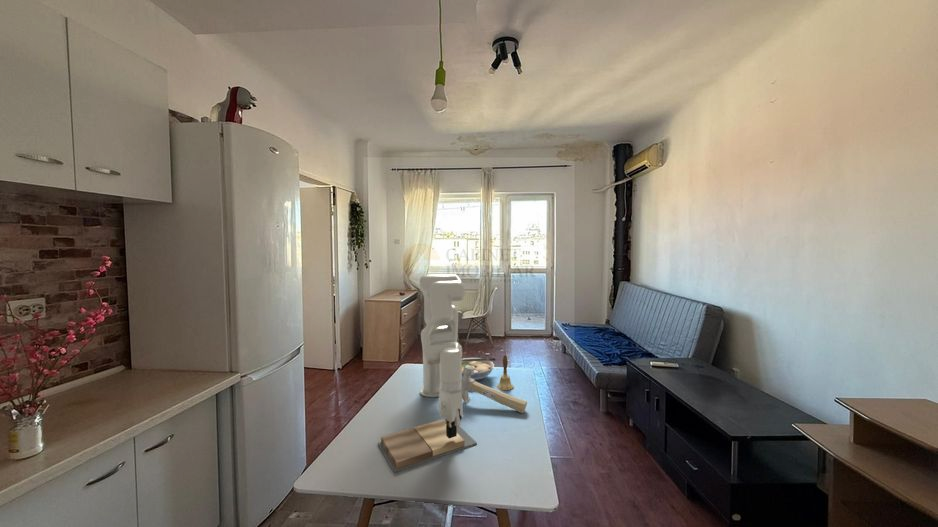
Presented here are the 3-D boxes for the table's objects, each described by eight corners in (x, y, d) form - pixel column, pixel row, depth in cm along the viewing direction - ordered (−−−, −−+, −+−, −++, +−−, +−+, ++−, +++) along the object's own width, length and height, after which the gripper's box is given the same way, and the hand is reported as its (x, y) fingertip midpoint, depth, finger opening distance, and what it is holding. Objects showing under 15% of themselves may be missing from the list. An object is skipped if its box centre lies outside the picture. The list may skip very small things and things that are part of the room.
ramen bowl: (448, 387, 172) (448, 371, 171) (449, 370, 194) (449, 356, 194) (498, 386, 172) (498, 370, 172) (494, 370, 195) (494, 355, 195)
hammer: (530, 388, 146) (467, 363, 158) (528, 393, 142) (463, 367, 153) (522, 422, 149) (460, 395, 160) (519, 427, 144) (456, 399, 156)
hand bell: (493, 386, 173) (493, 354, 172) (505, 382, 178) (505, 351, 177) (504, 392, 166) (504, 359, 165) (517, 387, 171) (517, 355, 170)
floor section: (378, 444, 123) (377, 436, 123) (453, 421, 138) (453, 415, 138) (394, 472, 107) (394, 464, 107) (476, 444, 122) (476, 437, 122)
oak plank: (413, 432, 129) (413, 427, 129) (443, 424, 135) (443, 419, 135) (432, 456, 114) (432, 450, 114) (464, 445, 120) (464, 440, 120)
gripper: (432, 379, 124) (432, 429, 125) (451, 394, 111) (451, 450, 112) (450, 375, 128) (451, 424, 129) (471, 389, 115) (471, 443, 116)
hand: (451, 436), depth 120 cm, fingers closed
